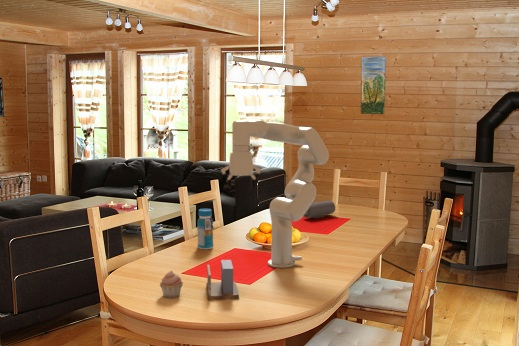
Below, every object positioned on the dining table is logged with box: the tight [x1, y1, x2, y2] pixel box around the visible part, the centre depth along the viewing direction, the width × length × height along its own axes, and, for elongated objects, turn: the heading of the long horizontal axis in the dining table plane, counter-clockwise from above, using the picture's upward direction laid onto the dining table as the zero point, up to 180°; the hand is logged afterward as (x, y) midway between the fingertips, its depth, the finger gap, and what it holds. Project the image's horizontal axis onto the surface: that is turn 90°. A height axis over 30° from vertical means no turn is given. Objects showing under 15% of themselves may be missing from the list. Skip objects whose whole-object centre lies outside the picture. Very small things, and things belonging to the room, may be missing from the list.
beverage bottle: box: [196, 208, 214, 250], centre depth 298 cm, size 8×8×20 cm
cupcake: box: [159, 270, 184, 299], centre depth 228 cm, size 9×9×10 cm
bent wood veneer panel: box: [205, 264, 240, 301], centre depth 232 cm, size 12×16×10 cm
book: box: [220, 259, 234, 294], centre depth 232 cm, size 4×12×10 cm, turn 7°
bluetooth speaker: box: [303, 200, 336, 220], centre depth 374 cm, size 23×9×10 cm, turn 130°
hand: (241, 188), depth 251 cm, fingers open, 9 cm apart
